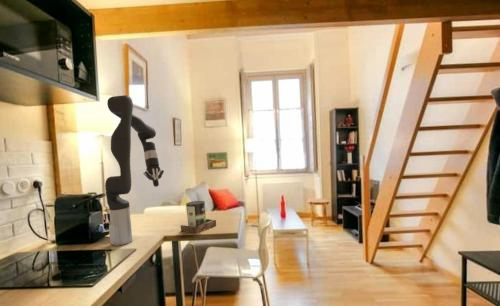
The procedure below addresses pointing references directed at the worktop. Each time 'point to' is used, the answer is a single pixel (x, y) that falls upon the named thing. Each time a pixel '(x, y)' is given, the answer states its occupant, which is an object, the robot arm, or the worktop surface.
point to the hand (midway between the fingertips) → (156, 186)
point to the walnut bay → (199, 226)
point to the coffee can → (196, 213)
